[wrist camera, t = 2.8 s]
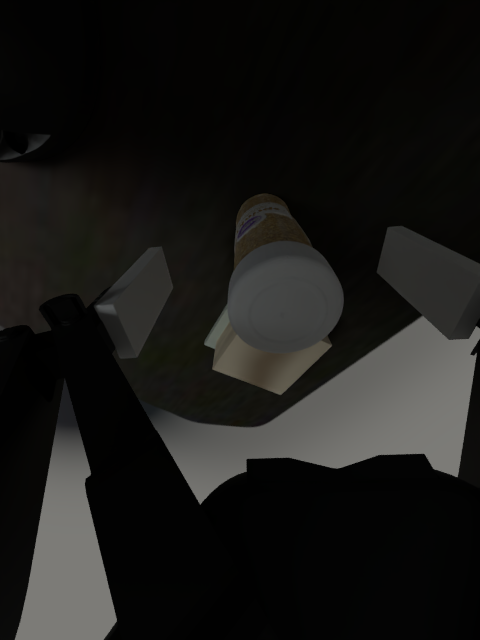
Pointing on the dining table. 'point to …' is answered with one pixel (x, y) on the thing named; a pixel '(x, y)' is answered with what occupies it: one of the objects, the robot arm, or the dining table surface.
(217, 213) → the dining table surface
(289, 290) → the sprinkles bottle
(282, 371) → the beech block
